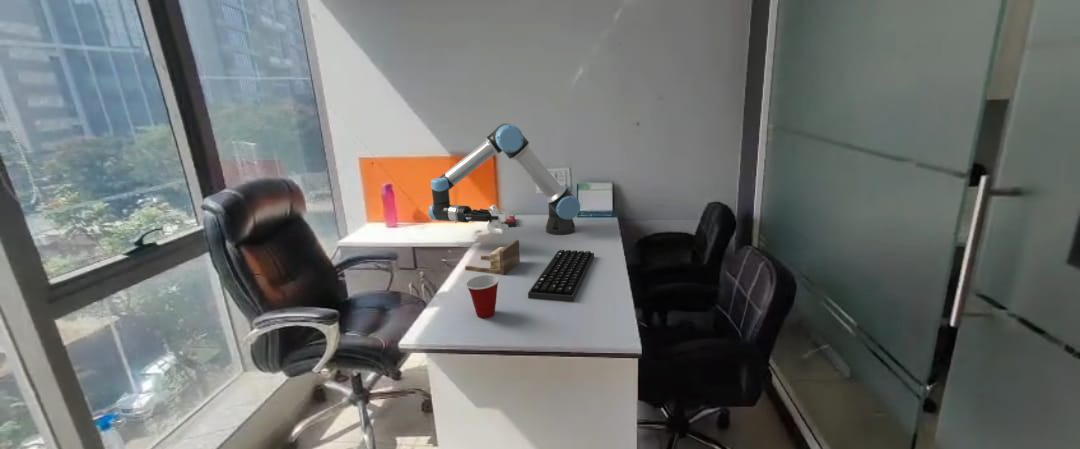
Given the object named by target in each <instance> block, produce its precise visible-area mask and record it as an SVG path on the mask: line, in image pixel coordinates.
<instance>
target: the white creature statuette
mask: <svg viewBox="0 0 1080 449" xmlns="http://www.w3.org/2000/svg"><path fill="white" fill-rule="evenodd" d="M487 210H488V211H489V212H490V214H491V216H492V214H499V212H500V211H499V208H498V207H497V205H496V204H492V205H491V206H489V207H488V209H487ZM486 227H487V230H488V231H489V233H492V234H497V235H504V234H505V230H509V227H508V225H507V224H501V221H495V220H491V222H489V221H488V224H486Z"/></svg>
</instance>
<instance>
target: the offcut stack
mask: <svg viewBox="0 0 1080 449" xmlns="http://www.w3.org/2000/svg"><path fill="white" fill-rule="evenodd" d="M504 247H505V246H503V247H502V246H499V247H498V248H496V249H495V250H493V251H492V252H491V253H490V254H489V256H490V258H491V260H489V263H490V265H489V268H490V269H498V270H500V257H499V251H500V250H501V249H503V248H504Z"/></svg>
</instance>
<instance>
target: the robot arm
mask: <svg viewBox="0 0 1080 449" xmlns="http://www.w3.org/2000/svg"><path fill="white" fill-rule="evenodd" d="M502 152H503V153H504V154H505V155H506V157H507V158H508V159H509V160H514V161H516V163H517V164H518V166H520V167H521V169H522V170H523V171H524V172H525V173H526V175H527V176H528V177H529V178H530V180H531V181H532V182H533V183H535V185H536V186H537V187H538V189H539V190H540V191H541V192H542V193H543V194H544V195H545V197H546V202H547V204H548V218H547V223H546V225H545V232H546V233H548V234H550V235H560V236H561V235H568V234H573V233H574V232H575V231H576V225H575V223H574V220H573V219H575V217H577V216H578V215H579V213H580V211H581V203H580V201H579V199H578V198H577V197H576V196H574V194H573V193H572V188H571V186H566V185H561V184H560V182H558V180H557V179H556V178H555V176H553V174H552V173H551V172H550V171H549V169H548V168H547V167H546V166H545V164H543V162H542V161H541V160H540V158H539V157H538V156H537V155H536V154H535V153H534V152H533V150H532V149H531V148H530V142H529V140H528V139H527V137H525V135H523V133H522V131H521V129H520V128H519V127H517V126H516V125H513V124H512V123H502V124H500V125H498V126H497V127H496V128H495V129H494V130H493V131H492V132H491V133H490V134H489V135H487V136H486V137H485V140H484V142H482V143H481V144H480V145H478V146H477V147H476V148H475V149H474V150H472V151H471V152H469V153H468V154H467V155H466V156H465V157H463V158H462V159H461V160H460V161H458V162H457V163H455V165H453V166H452V167H451V168H450V169H448V170H447V171H446V172H445V173H444V174H442V175H441V176H439V177H436V178H431V181H430V186H431V187H430V188H431V194H432V195H431V196H432V202H433V204H431V205H430V206H429V207H428V211H427V212H428V216H429V218H430V219H431V220H433V221H438V222H441V221H443V222H454V223H455V224H456V223H466V224H467V223H469V222H488V223H489V222H491V220H495V221H506V219H510V214H511V213H510V212H505V211H504V212H503V211H499V214H492V216H491V214H490V212H489V211H488V209H483V208H479V209H476V208H475V209H472V208H471V207H470V206H469V205H459V204H451V200H450V190H451V189H452V188H453V187H455V186H456V185H457V184H459V183H460V182H461V181H462V180H464V179H465V178H466V177H468V176H469V175H470V174H471V173H473V172H474V171H475V170H477V169H478V168H479V167H480V166H481V165H483V164H484V163H486V162H487V161H488V160H489V159H490V158H492V157H493V156H494V155H495V154H496V155H497V154H500V153H502Z"/></svg>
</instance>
